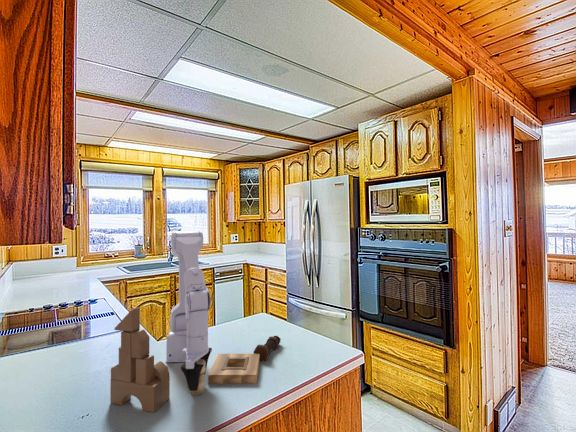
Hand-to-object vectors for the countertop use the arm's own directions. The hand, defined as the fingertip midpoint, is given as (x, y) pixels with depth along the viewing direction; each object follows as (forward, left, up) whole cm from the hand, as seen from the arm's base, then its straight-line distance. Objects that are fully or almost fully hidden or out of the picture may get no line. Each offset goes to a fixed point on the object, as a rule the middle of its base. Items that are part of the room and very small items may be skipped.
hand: (197, 382), depth 87 cm
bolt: (+19, +25, -3) cm, 32 cm away
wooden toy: (-15, -4, -3) cm, 15 cm away
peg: (0, 0, -2) cm, 2 cm away
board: (+9, +11, -2) cm, 14 cm away
